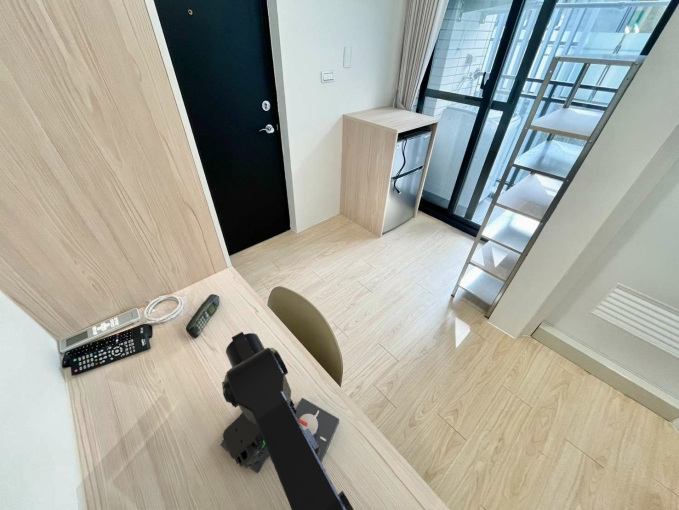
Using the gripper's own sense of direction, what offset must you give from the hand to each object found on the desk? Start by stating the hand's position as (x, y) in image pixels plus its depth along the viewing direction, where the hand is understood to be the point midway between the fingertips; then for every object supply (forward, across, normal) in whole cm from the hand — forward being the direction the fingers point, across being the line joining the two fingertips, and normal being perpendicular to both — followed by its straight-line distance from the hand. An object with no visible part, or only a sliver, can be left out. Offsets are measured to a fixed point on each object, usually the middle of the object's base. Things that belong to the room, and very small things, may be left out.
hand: (284, 426), depth 54 cm
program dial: (+7, +2, +4) cm, 8 cm away
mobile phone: (+10, -43, -3) cm, 45 cm away
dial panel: (+10, +2, +4) cm, 11 cm away
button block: (+10, -6, -6) cm, 13 cm away
